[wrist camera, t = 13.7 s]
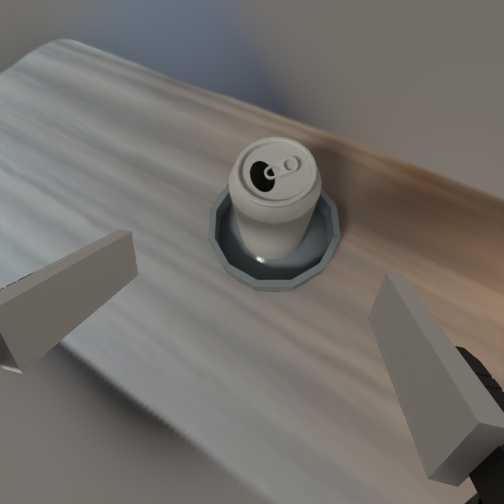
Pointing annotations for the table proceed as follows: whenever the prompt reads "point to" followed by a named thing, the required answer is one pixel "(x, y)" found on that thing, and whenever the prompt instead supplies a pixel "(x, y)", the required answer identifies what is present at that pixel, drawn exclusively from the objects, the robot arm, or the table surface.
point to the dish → (277, 270)
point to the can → (274, 195)
